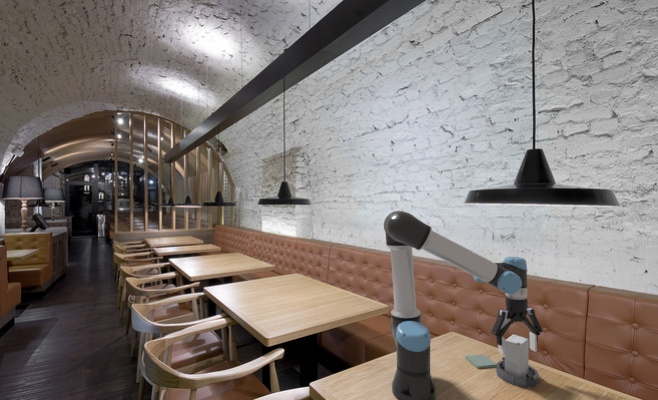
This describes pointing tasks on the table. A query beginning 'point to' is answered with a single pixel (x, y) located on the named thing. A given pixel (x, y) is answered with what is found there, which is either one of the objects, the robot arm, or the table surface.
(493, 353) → the table surface
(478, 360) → the plate
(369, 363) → the table surface
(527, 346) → the skincare box
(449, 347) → the table surface
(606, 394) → the table surface
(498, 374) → the locking ring
